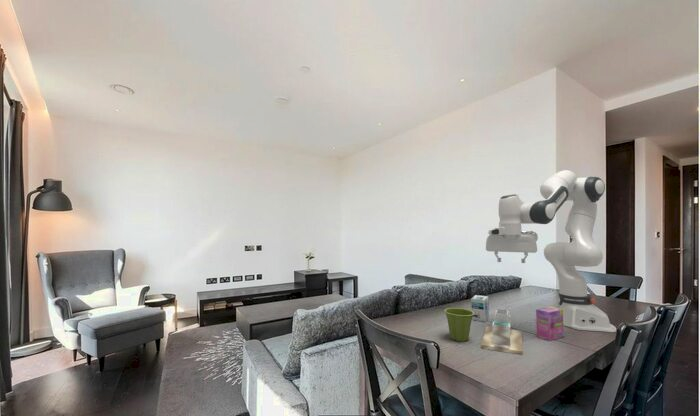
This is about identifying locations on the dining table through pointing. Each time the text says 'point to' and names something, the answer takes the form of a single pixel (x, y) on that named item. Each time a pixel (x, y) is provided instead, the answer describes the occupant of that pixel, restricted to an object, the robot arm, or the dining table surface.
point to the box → (549, 323)
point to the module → (502, 315)
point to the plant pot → (459, 323)
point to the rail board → (513, 342)
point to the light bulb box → (480, 308)
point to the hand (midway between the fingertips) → (511, 262)
